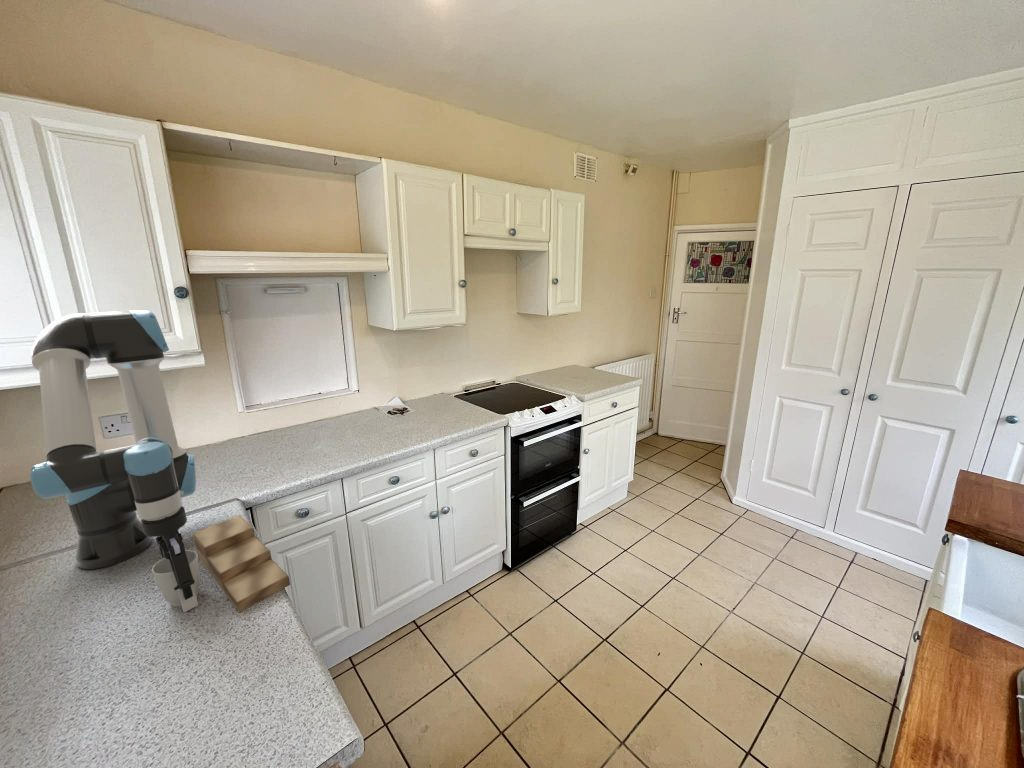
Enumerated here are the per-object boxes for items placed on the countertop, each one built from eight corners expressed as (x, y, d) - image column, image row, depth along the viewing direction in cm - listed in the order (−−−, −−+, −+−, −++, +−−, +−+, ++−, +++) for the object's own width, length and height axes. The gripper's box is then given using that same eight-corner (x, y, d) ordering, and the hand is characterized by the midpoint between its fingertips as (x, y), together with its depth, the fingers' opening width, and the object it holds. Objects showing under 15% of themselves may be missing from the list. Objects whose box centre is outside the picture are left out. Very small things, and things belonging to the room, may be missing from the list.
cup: (200, 581, 102) (191, 546, 100) (210, 596, 97) (201, 559, 95) (158, 600, 96) (148, 563, 94) (167, 617, 91) (156, 579, 89)
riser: (239, 612, 92) (232, 583, 90) (198, 558, 111) (192, 533, 109) (290, 584, 100) (285, 557, 99) (244, 538, 119) (239, 514, 117)
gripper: (197, 521, 87) (218, 610, 93) (170, 490, 101) (190, 569, 106) (151, 538, 82) (177, 632, 87) (129, 503, 95) (153, 586, 101)
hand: (184, 597), depth 97 cm, fingers open, 9 cm apart
